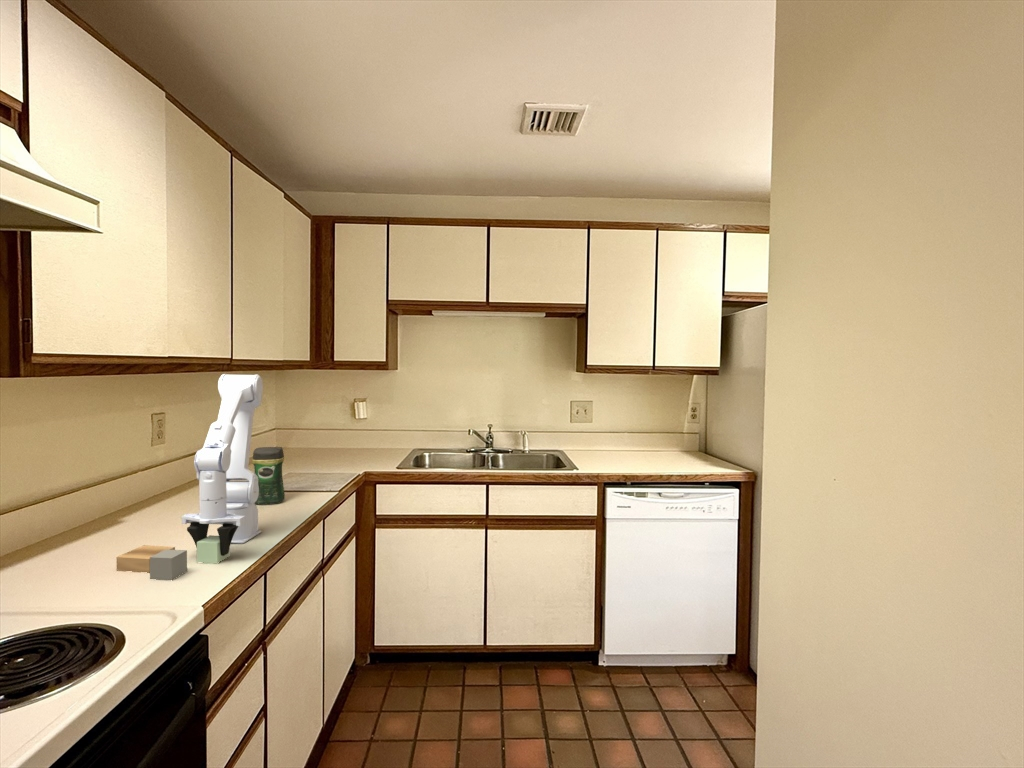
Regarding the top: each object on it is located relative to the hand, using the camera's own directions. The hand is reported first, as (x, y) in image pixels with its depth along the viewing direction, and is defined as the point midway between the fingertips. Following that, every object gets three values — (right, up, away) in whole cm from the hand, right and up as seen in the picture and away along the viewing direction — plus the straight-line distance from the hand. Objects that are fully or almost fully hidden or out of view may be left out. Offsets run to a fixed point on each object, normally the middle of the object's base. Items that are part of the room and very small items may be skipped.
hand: (213, 553), depth 131 cm
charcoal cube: (-5, -2, -10) cm, 11 cm away
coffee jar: (-10, +1, +52) cm, 53 cm away
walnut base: (-13, -2, -4) cm, 14 cm away
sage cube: (0, -1, 0) cm, 1 cm away
